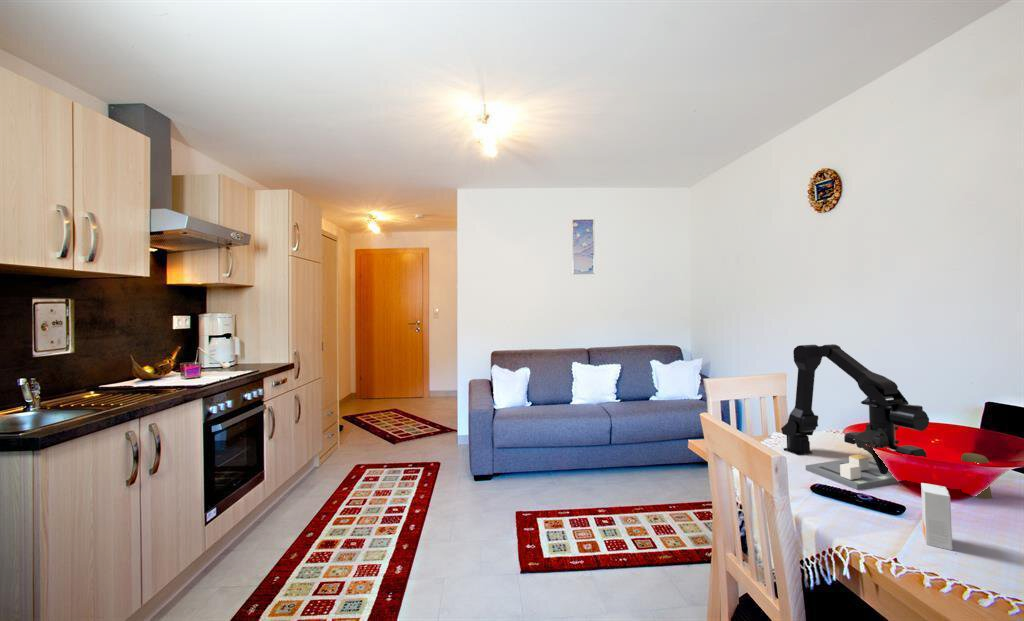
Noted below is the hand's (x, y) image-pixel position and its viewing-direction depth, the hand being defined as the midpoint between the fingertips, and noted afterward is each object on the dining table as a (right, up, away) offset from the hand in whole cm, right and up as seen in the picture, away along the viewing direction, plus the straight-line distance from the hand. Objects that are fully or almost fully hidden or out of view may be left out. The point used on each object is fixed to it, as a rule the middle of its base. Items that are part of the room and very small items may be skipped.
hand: (883, 474), depth 125 cm
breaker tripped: (-2, -1, +7) cm, 7 cm away
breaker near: (-9, -1, +1) cm, 10 cm away
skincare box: (-15, -3, -31) cm, 35 cm away
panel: (-2, -3, +7) cm, 7 cm away
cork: (+18, -2, -9) cm, 20 cm away
